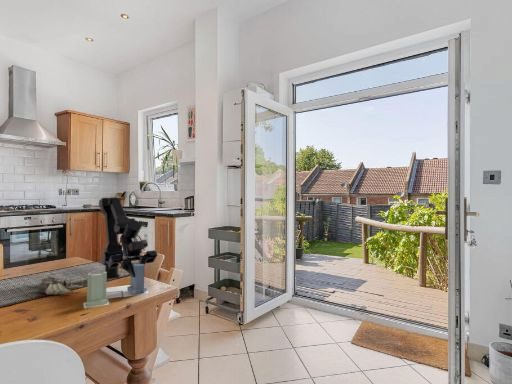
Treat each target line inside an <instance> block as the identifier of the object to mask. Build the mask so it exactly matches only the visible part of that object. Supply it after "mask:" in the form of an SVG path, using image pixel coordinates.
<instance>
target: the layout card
mask: <svg viewBox="0 0 512 384" xmlns="http://www.w3.org/2000/svg"><path fill="white" fill-rule="evenodd" d="M129 286H131V284H127V285H120V286H118V285H117V286H110V287H106V304H103V305H96V306H90V307H87V301H86V302H83V304H82V305H83V309H84V310H85V309H90V308H96V307H102V306H109V305H110V302H109V300H113V299H118V298H119V299H121V298H126V297H127V298H128V297H131V296H139V295H145V294H150V292H149V291H148V290H147V291H146V292H141V293H136V294H132V293H130V292H129V291H128V290H127V287H129Z"/></svg>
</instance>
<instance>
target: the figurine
mask: <svg viewBox="0 0 512 384" xmlns="http://www.w3.org/2000/svg"><path fill="white" fill-rule="evenodd" d="M80 282H81V283H82V282H84V279H82V280H74V279H67V278H65V279H64V280H63V279H62V278H59V277H53V276H52V275H49V276H47V277H42V278H41V283H39V284H37V285H32V286H31V285H25V284H24V285H22V286H23V287H26V288H30V289H33V291H35V292H39V293H42V294H46V296H49V295H50V296H52V295H55V296H57V295H64V294H65V295H66V294H69V293H74V292H75V291H74V290H73V289H72V288H71V289H69V288H68V287H75V288H83V284H81V285H76V284H77V283H80Z"/></svg>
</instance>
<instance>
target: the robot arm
mask: <svg viewBox="0 0 512 384" xmlns="http://www.w3.org/2000/svg"><path fill="white" fill-rule="evenodd" d="M121 200H122V199H121V197H111V196H110V197H101V199H99V200H98V206H99V209H100V212H101V213H102V215H104V224H105V232H106V233H105V234H106V237H105V238H106V246H104V247H105V248H104V250H103V254H102V256H101V258H100V264H101V265H103V266H104V267H105V269H104V272H107V279H111V278H119V276H120V274H119V267H120V269H123V270H124V271H126V272H127V273H128V274H129V275H130V277H131V276H132V277H133V278H135V272H134V269H133V266H132V263H133V262H140V264H144V265H145V266H146V264H150V263H154V262H155V261H156V259H157V257H158V256H159V255H158V252H157V251H156V249H155V250H147V251H146V252H145V253H144V254H142V253H143V250H144V249H146V248H147V247H148V245H149V243H148V241H147V238H146V239H141V240H138V241H137V240H136V238H137V237H138V235H139V233H140V231H141V229H142V223H141V222H140V221H138V220H136V219H135V217H134V218H133V217H132V218H129V217H127V215H126V212H125V210H124V207H123V204H122V202H121ZM118 235H120V236H119V242H118ZM119 264H120V266H119Z"/></svg>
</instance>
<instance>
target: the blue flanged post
mask: <svg viewBox="0 0 512 384" xmlns="http://www.w3.org/2000/svg"><path fill="white" fill-rule="evenodd" d="M131 263H132V266H133V269H134V272H135V278H133V277H132V276H131V275H130V285H131V286H129V287H127V290H128V291H129V292H130V293H132V294H136V293H141V292H146V291H148V287H147V286H145V267H146V264H145V265H144V264H140V262H139V261H134V262H131Z"/></svg>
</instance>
